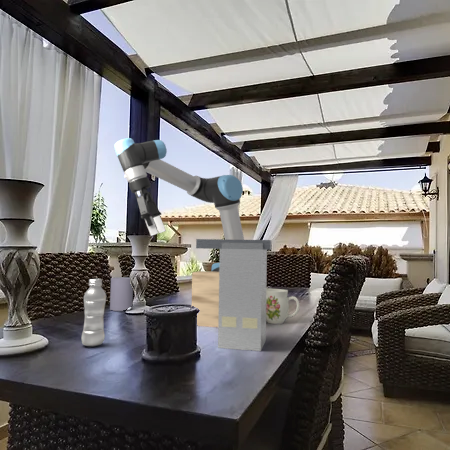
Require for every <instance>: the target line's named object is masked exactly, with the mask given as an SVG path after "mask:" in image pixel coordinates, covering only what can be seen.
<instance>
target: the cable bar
mask: <svg viewBox="0 0 450 450" xmlns="http://www.w3.org/2000/svg"><path fill="white" fill-rule="evenodd" d="M195 241H196V245H195V246H196V247H195V249H203V250H204V249H207V250H210V249H211V250H213V249H216V250H220V249H222V242H223V243H264V250H267V251H270V250H272V242H273V241H272V240H271V239H244V240H225V238H224V239H221V238H220V239H219V238H218V239H217V238H216V239H215V238H213V239H212V238H211V239H210V238H209V239H208V238H206V239H205V238H204V239H203V238H202V239H201V238H196V240H195Z"/></svg>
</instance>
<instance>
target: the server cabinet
mask: <svg viewBox="0 0 450 450" xmlns="http://www.w3.org/2000/svg"><path fill="white" fill-rule="evenodd" d="M267 255H268V250H264V243H223V242H222V249H219V263H220V267H219V322H218V327H217V329H218V330H217V331H218V333H217V335H218V336H217V337H218V338H217V340H218V341H217V348H218V349H226V350H227V349H228V350H239V351H241V350H242V351H251V350H252V351H254V352H256V351H257V352H262V349H263V347H264V346H265V343H266V341H267V321H266V288H267V280H268V279H267V273H268V272H267V266H268V264H267V261H268V257H267ZM252 351H251V352H252Z"/></svg>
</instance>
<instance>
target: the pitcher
mask: <svg viewBox="0 0 450 450" xmlns="http://www.w3.org/2000/svg"><path fill="white" fill-rule="evenodd" d="M288 294H289V290H288V289H283V288H282V289H280V288H271V287H269V288H268V287H266V323H268V324H273V325H274V324H275V325H281V324H284V322H285V320H286V319H290V318H293V317H295V316H297V314H298V313H299V311H300V301H299V299H298V298H297V297H296V296H288ZM291 300H294V301H295V302H296V309H295V311H294V312H293V313H292V312H291V313H290V314H289V311H290V304H289V302H290V301H291Z"/></svg>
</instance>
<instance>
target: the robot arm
mask: <svg viewBox="0 0 450 450" xmlns="http://www.w3.org/2000/svg"><path fill="white" fill-rule="evenodd" d="M113 148H114V151H115V154H116V157H117V158H118V161H119V164H120V166H121V168H122V172H123V173H124V176H123V177H124V178H125V179H126V181H127V182H128V183H129V184H128V187H129V189H130V192H131V193H132V194H134V195H135V197H136V201H137V204H138V208H139V212H140V219H141V220H144V221H145V224H146V227H147V229H148V232H149V235H150V236H151V237H152V236H154V235H157V234H161V233H163V232H164V233H165V232H167V230H166V227H165V224H164V223H163V220H162V218H161V216H162V212H160V209H159V207H158V206H157V203H156V202H155V201H154V198H153V197H152V193H151V191H148V189H150V188H151V187H152V186H151V182H150V180H149V177H147V176H148V174H149V175H152V176H154V177H155V178H158V179H160V180H163V181H164V182H167V183H168V184H171V185H174V186H175V187H177V188H179V189H182V190H183V191H186V193H187V194H188V195H189V196H191V197H193V198H195V199H197V200H200V201H202V202H206V203H208V204H209V203H210V204H212V203H213V204H214V208H215V209H216V210H217V211H219V217H220V221H221V226H222V230H223V231H222V232H223V236H224V239H225V240H245V237H244V232H243V227H242V223H241V217H240V213H239V209H238V206H239V205H240V203H241V198H242V196H243V195H242V194H243V192H244V190H243V189H244V188H243V184H242V183H241V182H242V181H241V180H240V179H239V178H237V177H236V176H235V175H233V174H223V175H219V176H215V177H209V178H206V177H205V178H204V177H201V176H198V175H192V174H190V173H188V172H186V171H184V170H183V169H181V168H178V167H176V166H174V165H173V164H170V163H168V162H166V161H164V160H163V159H164V158H166V156H167V154H168V153H167V152H168V151H167V147H166V144H165V142H164V141H162V140H160V139H155V140H154V139H153V140H150V141H144V142H139V143H137V142H135V141H134V139H133V138H131V137H127V138H126V137H125V138H123V139H119V140H118V141H116V142H115V143H114V147H113ZM147 173H148V174H147ZM219 267H220V262H215V263H213V264H212V265H211V271H210V272H219Z"/></svg>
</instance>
